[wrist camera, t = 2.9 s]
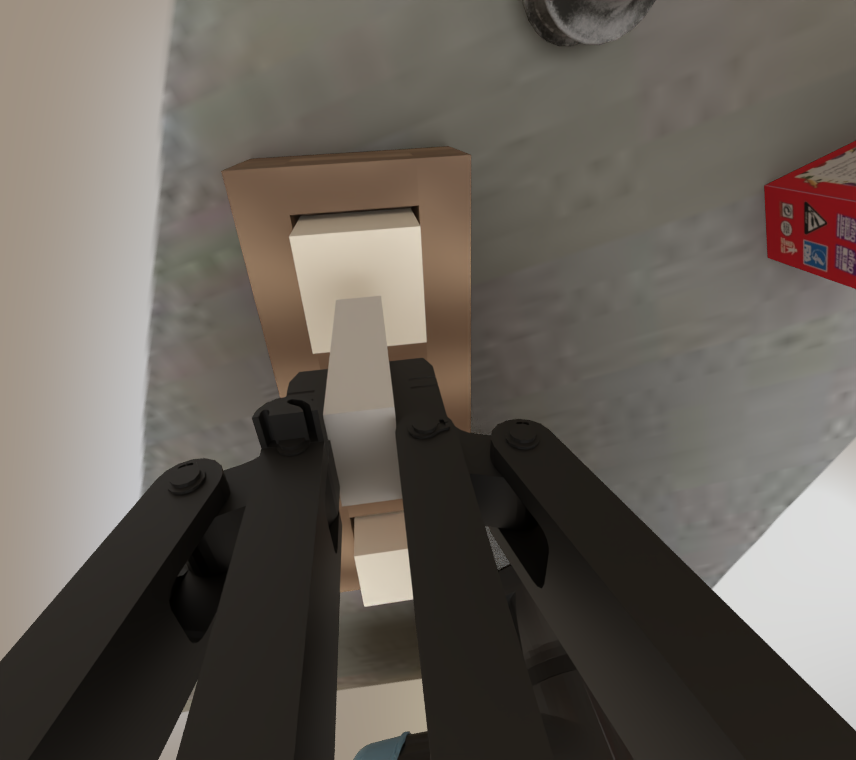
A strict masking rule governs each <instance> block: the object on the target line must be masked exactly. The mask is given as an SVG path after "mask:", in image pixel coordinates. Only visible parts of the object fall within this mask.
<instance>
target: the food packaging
mask: <svg viewBox="0 0 856 760" xmlns="http://www.w3.org/2000/svg"><path fill="white" fill-rule="evenodd" d="M764 189H765V211H766V232H767V254H768V258H770V259H773V260H776V261H779V262H781V263H784V264H787V265H790V266H793V267H795V268H798V269H801V270H804V271H807V272H810V273H812V274H815V275H818V276H821V277H824V278H826V279H829V280H832V281H835V282H838V283H841V284H843V285H846V286H849V287H852V288H855V289H856V141H854V142H852V143H850V144H848V145H846V146H844V147H842V148H840V149H838V150H836V151H834V152H832V153H830V154H828V155H826V156H824V157H822V158H820V159H818V160H816V161H814V162H812V163H810V164H807V165H805V166H803V167H801V168H799V169H797V170H795V171H793V172H791V173H789V174H787V175H785V176H783V177H781V178H779V179H777V180H775V181H773V182H771V183H769V184H767V185H765V186H764Z"/></svg>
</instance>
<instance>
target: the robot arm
mask: <svg viewBox="0 0 856 760" xmlns="http://www.w3.org/2000/svg"><path fill="white" fill-rule="evenodd" d="M252 420H253V423H254V426H255V429H256V432H257V436H258V439H259V442H260V445H261V448H262V449H261V453H260V456H259V457H257V458H256V459H254V460H252V461H250V462H247V463H245V464H242V465H239V466H236V467H233V468H230V469H227V470H224V471H223V469H222V466H221V465H220V464H219V463H218V462H216V461H215V460H210V459H205V458H204V459H193V460H189V461H186V462H183V463H180V464H178V465H176V466H174V467H172V468H171V469H169V470H167V471H166V472H164V473H163V474H162V475H161V476H160V477H159V478H158V479H157V480H156V481H155V482H154V483H153V484H152V485H151V487H150V488H149V489H148V490H147V491H146V492H145V494H144V495H143V496H142V497H141V498H140V499H139V501H138V502H137V503H136V504H135V505H134V507H133V508H132V509H131V510H130V511H129V512H128V513H127V515H126V516H125V517H124V518H123V519H122V520H121V522H120V523H119V524H118V525H117V526H116V527H115V529H114V530H113V531H112V532H111V533H110V534H109V536H108V537H107V538H106V539H105V540H104V541H103V542H102V544H101V545H100V546H99V547H98V548H97V549H96V551H95V552H94V553H93V554H92V555H91V556H90V558H89V559H88V560H87V561H86V562H85V564H84V565H83V566H82V567H81V568H80V569H79V570H78V572H77V573H76V574H75V575H74V576H73V577H72V579H71V580H70V581H69V582H68V583H67V584H66V586H65V587H64V588H63V589H62V591H61V592H60V593H59V594H58V595H57V596H56V597H55V599H54V600H53V601H52V602H51V603H50V604H49V605H48V607H47V608H46V609H45V610H44V611H43V612H42V614H41V615H40V616H39V617H38V618H37V619H36V621H35V622H34V623H33V624H32V625H31V626H30V628H29V629H28V630H27V631H26V632H25V633H24V635H23V636H22V637H21V638H20V639H19V641H18V642H17V643H16V644H15V645H14V646H13V647H12V649H11V650H10V651H9V652H8V653H7V654H6V656H5V657H4V658H3V659H2V660H1V661H0V760H158V759H159V757H160V755H161V753H162V751H163V749H164V747H165V745H166V743H167V741H168V739H169V737H170V735H171V733H172V731H173V729H174V726H175V725H176V722H177V720H178V718H179V716H180V714H181V712H182V710H183V708H184V706H185V704H186V702H187V700H188V698H189V696H190V694H191V692H192V690H193V688H194V686H195V684H196V682H197V680H198V682H197V685H196V689H195V692H194V696H193V700H192V703H191V707H190V711H189V714H188V718H187V722H186V725H185V729H184V732H183V736H182V740H181V743H180V747H179V750H178V754H177V758H176V760H334V753H335V749H334V748H335V724H336V723H335V722H336V721H335V720H336V692H337V665H338V635H339V606H340V576H341V547H342V521H341V516H340V512H339V499H341V503H342V506H350V505H357V504H365V503H373V502H380V501H388V500H395V499H402V500H403V509H404V519H405V528H406V537H407V546H408V555H409V565H410V574H411V583H412V592H413V601H414V611H415V620H416V629H417V638H418V647H419V656H420V666H421V675H422V684H423V693H424V702H425V711H426V721H427V729H428V731H426V732H421V733H416V734H411V733H410V732H404V733H403V734H402V735H401V736H398V737H395V738H391V739H386V740H383V741H379V742H375V743H371V744H369V745H366V746H365V747H363V748H362V749H361V750H360V751H359V752H358V753H357V755H356V756H355V758H354V759H353V760H856V731H855V730H854V729H853V728H852V727H851V726H850V725H849V724H848V723H847V722H846V721H845V720H844V719H843V718H842V717H841V716H840V715H839V714H838V713H837V712H836V711H835V710H834V709H833V708H832V707H831V706H830V705H829V704H828V703H827V702H826V701H825V700H824V699H823V698H822V697H821V696H820V695H819V694H818V693H817V692H816V691H815V690H814V689H813V688H812V687H811V686H809V685H808V684H807V683H806V682H805V681H804V680H803V679H802V678H801V677H800V676H799V675H798V674H797V673H796V672H795V671H794V670H793V669H792V668H791V667H790V666H789V665H788V664H787V663H786V662H785V661H784V660H783V659H782V658H781V657H780V656H779V655H778V654H777V653H776V652H775V651H774V650H773V649H772V648H771V647H770V646H769V645H768V644H767V643H766V642H765V641H764V640H763V639H762V638H761V637H760V636H759V635H758V634H757V633H755V632H754V631H753V629H751V628H750V627H749V626H748V625H747V624H746V623H745V622H744V621H743V620H742V619H741V618H740V617H739V616H738V615H737V614H736V613H735V612H734V611H733V610H732V609H731V608H730V607H729V606H728V605H727V604H726V603H725V602H724V601H723V600H722V599H721V598H720V597H719V596H718V595H717V594H716V593H715V592H714V591H713V590H712V589H711V588H710V587H709V586H708V585H707V584H706V583H705V582H704V581H703V580H702V579H701V578H700V577H699V576H698V575H697V574H695V573H694V572H693V571H692V570H691V569H690V568H689V567H688V566H687V565H686V564H685V563H684V562H683V561H682V560H681V559H680V558H679V557H678V556H677V555H676V554H675V553H674V552H673V551H672V550H671V549H670V548H669V547H668V546H667V545H666V544H665V543H664V542H663V541H662V540H661V539H660V538H659V537H658V536H657V535H656V534H655V533H654V532H653V531H652V530H651V529H650V528H649V527H648V526H647V525H646V524H645V523H644V522H643V521H642V520H640V519H639V518H638V517H637V516H636V515H635V514H634V513H633V512H632V511H631V510H630V509H629V508H628V507H627V506H626V505H625V504H624V503H623V502H622V501H621V500H620V499H619V498H618V497H617V496H616V495H615V494H614V493H613V492H612V491H611V490H610V489H609V488H608V487H607V486H606V485H605V484H604V483H603V482H602V481H601V480H600V479H599V478H598V477H597V476H596V475H595V474H594V473H593V472H592V471H591V470H590V469H589V468H588V467H587V466H585V465H584V464H583V463H582V462H581V461H580V460H579V459H578V458H577V457H576V456H575V455H574V454H573V453H572V452H571V451H570V450H569V449H568V448H567V447H566V446H565V445H564V444H563V443H562V442H561V441H560V440H559V439H558V438H557V437H556V436H555V435H554V434H553V433H552V432H551V431H550V430H549V429H547V428H546V427H544V426H543V425H541V424H539V423H536V422H533V421H531V420H522V419H515V420H508V421H505V422H503V423H501V424H498V425H497V426H496V427H495V428H494V429H493V431H492V434H491V435H481V434H474V433H469V432H466V431H463V430H460V429H459V428H457V427H455V425H454V423H453V422H452V420H451V419H450V418H448V417H447V414H446V411H445V407H444V404H443V400H442V397H441V393H440V390H439V386H438V383H437V379H436V376H435V372H434V369H433V366H432V365H431V364H430V363H429V362H428V361H426V360H425V359H424V358H415V359H405V360H396V361H389V358H388V350H387V341H386V333H385V325H384V316H383V308H382V300H381V296H372V297H362V298H351V299H340V300H336V304H335V313H334V322H333V331H332V340H331V348H330V357H329V366H328V369H322V370H313V371H303V372H299V373H298V374H297V375H296V376H295V377H294V378H293V379H292V380H291V381H290V382H289V385H288V389H287V395H286V397H283V398H278V399H275V400H273V401H271V402H268V403H266V404H264V405H263V406H262V407H260V408H259V409H258V410H257V411H256V412H255V414H254V415H253V417H252ZM485 526H489V529H490V531H491V533H492V535H493V537H494V538H495V540H496V541H497V543H498V545H499V546H500V548H501V549H502V551H503V552H504V554H505V556H506V557H507V559H508V560H509V562H510V564H511V565H512V566H509V567H507V568H505V569H503V570H501V571H499V572H498V569H497V566H496V562H495V559H494V556H493V552H492V549H491V546H490V542H489V539H488V536H487V532H486V529H485Z"/></svg>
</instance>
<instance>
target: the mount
mask: <svg viewBox="0 0 856 760" xmlns="http://www.w3.org/2000/svg"><path fill="white" fill-rule="evenodd" d="M221 172H222V176H223V180H224V184H225V187H226V191H227V195H228V199H229V203H230V207H231V210H232V214H233V218H234V222H235V226H236V230H237V233H238V237H239V241H240V245H241V249H242V253H243V256H244V260H245V264H246V268H247V272H248V276H249V279H250V283H251V287H252V291H253V295H254V299H255V302H256V306H257V310H258V314H259V318H260V322H261V325H262V329H263V333H264V337H265V341H266V345H267V349H268V352H269V356H270V360H271V364H272V368H273V372H274V375H275V379H276V383H277V387H278V391H279V395H280V398H283V397H286V395H287V389H288V385H289V382H290V381H291V380H292V379H293V378H294V377H295V376H296V375H297V374H298V373H299V372H303V371H313V370H322V369H328V366H329V357H330V352H326V353H316V354H313V352H312V347H311V342H310V337H309V332H308V327H307V323H306V318H305V313H304V308H303V303H302V298H301V293H300V288H299V283H298V278H297V273H296V269H295V264H294V259H293V254H292V249H291V244H290V239H289V236H290V234H291V232H292V230H293V229H294V227H295V225H296V223H297V221H298V220H299V218H300V216H311V215H324V214H337V213H351V212H364V211H377V210H391V209H404V208H411V210H412V212H413V213H414V215H415V217H416V219H417V221H418V223H419V225H420V228H421V246H422V265H423V283H424V301H425V319H426V338H427V342H424V343H414V344H404V345H395V346H387V350H388V358H389V361H396V360H405V359H415V358H424V359H425V360H426V361H428V362H429V363H430V364H431V365H432V366H433V369H434V372H435V376H436V379H437V383H438V386H439V390H440V393H441V397H442V400H443V404H444V407H445V411H446V414H447V417H448V418H450V419H451V420H452V422H453V423H454V425H455V427H457V428H459V429H460V430H463V431H466V432H469V433H471V155H470V154H467V153H465V152H462V151H459V150H457V149H454V148H452V147H449V146H446V147H430V148H415V149H399V150H383V151H367V152H352V153H336V154H320V155H304V156H289V157H273V158H257V159H249V160H246V161H244V162H242V163H239V164H237V165H235V166H232V167H230V168H228V169H225V170H223V171H221ZM403 510H404V509H403V500H402V499H395V500H388V501H380V502H373V503H365V504H357V505H350V506H342V503H341V499H339V512H340V516H341V521H342V547H341V576H340V592H346V591H353V590H360V589H361V588H360V583H359V578H358V573H357V568H356V563H355V558H354V519H355V517H358V516H366V515H373V514H381V513H388V512H395V511H403Z"/></svg>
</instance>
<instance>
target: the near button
mask: <svg viewBox="0 0 856 760" xmlns="http://www.w3.org/2000/svg"><path fill="white" fill-rule="evenodd" d="M289 239H290V244H291V249H292V254H293V259H294V264H295V269H296V273H297V278H298V283H299V288H300V293H301V298H302V303H303V308H304V313H305V318H306V323H307V327H308V332H309V337H310V342H311V347H312V352H313V354H316V353H326V352H330V348H331V340H332V331H333V322H334V313H335V304H336V300H340V299H351V298H362V297H372V296H381V300H382V308H383V316H384V325H385V333H386V341H387V346H395V345H404V344H414V343H424V342H427V338H426V319H425V301H424V283H423V265H422V246H421V228H420V225H419V223H418V221H417V219H416V217H415V215H414V213H413V212H412V210H411V208H404V209H391V210H377V211H364V212H351V213H337V214H324V215H311V216H300V218H299V220H298V221H297V223H296V225H295V227H294V229H293V230H292V232H291V234H290V236H289Z"/></svg>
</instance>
